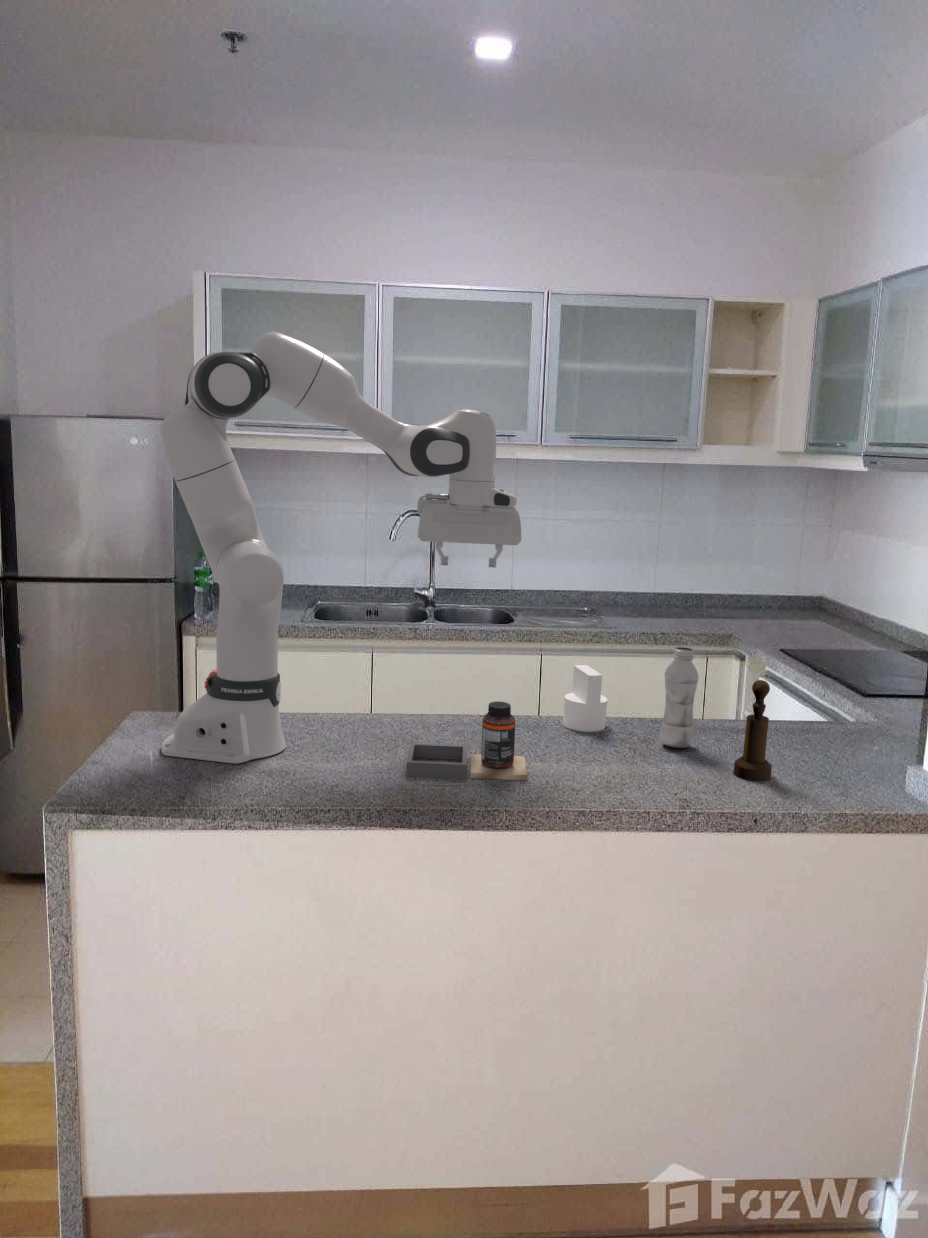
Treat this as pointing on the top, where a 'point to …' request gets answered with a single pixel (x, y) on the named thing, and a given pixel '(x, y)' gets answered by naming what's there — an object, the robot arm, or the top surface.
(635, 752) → the top surface
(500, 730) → the supplement bottle
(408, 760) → the holder
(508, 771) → the coaster
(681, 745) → the plastic bottle
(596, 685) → the base with upright slab
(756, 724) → the brown wooden upright piece
